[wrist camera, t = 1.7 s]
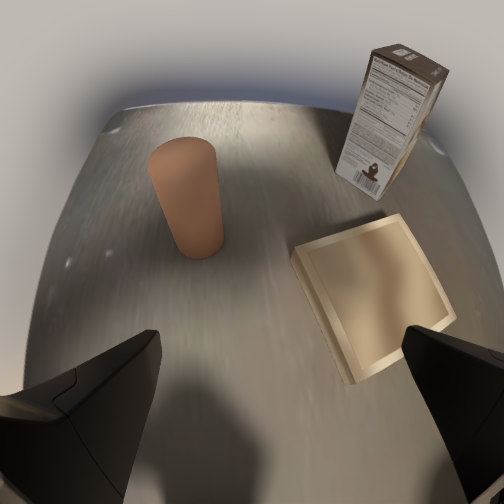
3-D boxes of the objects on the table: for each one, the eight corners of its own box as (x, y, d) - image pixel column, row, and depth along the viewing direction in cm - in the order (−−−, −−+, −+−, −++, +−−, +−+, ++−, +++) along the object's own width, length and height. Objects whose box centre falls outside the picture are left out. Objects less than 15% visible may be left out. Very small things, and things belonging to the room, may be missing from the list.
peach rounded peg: (182, 265, 24) (151, 192, 16) (172, 225, 26) (144, 147, 18) (230, 250, 25) (224, 171, 16) (216, 212, 27) (206, 130, 18)
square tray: (344, 385, 20) (356, 384, 17) (290, 260, 25) (294, 246, 23) (441, 325, 22) (457, 318, 19) (389, 226, 27) (399, 212, 25)
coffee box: (364, 142, 34) (398, 41, 20) (402, 167, 32) (450, 70, 18) (332, 173, 30) (370, 47, 16) (378, 204, 28) (440, 84, 14)
